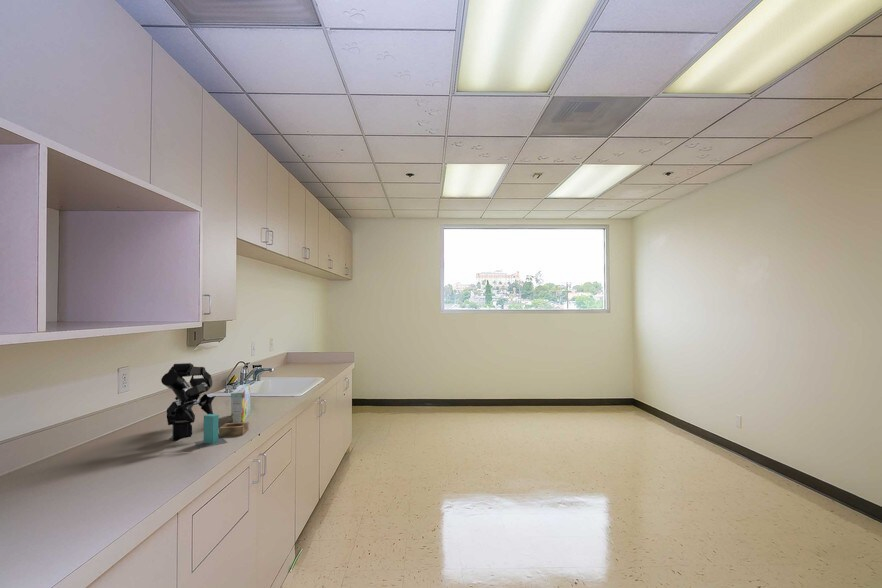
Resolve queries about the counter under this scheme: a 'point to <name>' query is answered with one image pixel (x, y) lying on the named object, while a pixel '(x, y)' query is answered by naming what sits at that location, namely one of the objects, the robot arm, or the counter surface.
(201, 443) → the rubber mat
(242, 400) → the snack box
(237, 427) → the slot box
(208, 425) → the teal block
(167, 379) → the robot arm
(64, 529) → the counter surface
